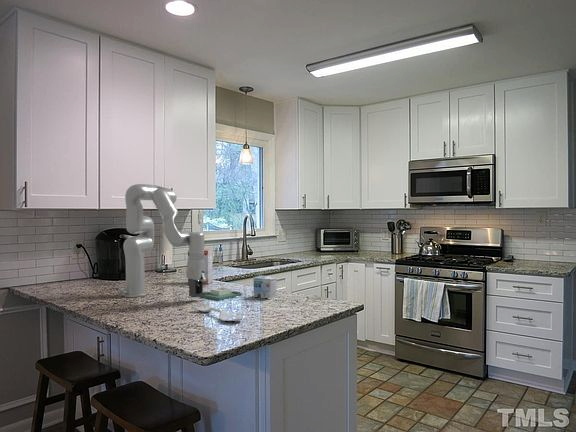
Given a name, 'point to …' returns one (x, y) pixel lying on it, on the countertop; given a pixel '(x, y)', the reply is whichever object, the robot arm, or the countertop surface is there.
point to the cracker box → (207, 266)
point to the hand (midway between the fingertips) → (196, 292)
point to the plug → (194, 288)
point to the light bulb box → (265, 286)
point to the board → (220, 293)
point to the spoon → (222, 314)
